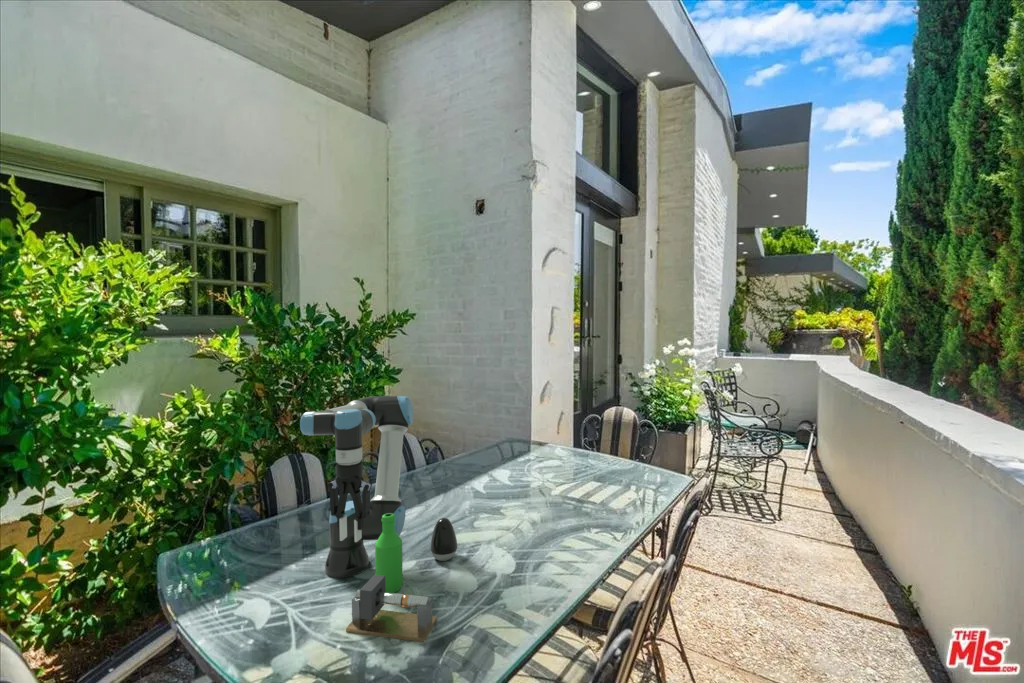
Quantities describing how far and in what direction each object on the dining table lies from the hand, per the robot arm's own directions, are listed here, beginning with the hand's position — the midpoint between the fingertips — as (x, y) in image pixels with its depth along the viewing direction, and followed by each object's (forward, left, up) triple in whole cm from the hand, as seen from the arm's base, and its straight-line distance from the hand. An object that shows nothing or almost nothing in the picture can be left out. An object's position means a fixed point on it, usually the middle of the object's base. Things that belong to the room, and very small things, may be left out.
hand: (350, 539), depth 135 cm
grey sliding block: (+7, 0, -21) cm, 22 cm away
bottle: (+3, +18, -25) cm, 31 cm away
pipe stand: (+13, 0, -25) cm, 28 cm away
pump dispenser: (+14, +41, -25) cm, 50 cm away
